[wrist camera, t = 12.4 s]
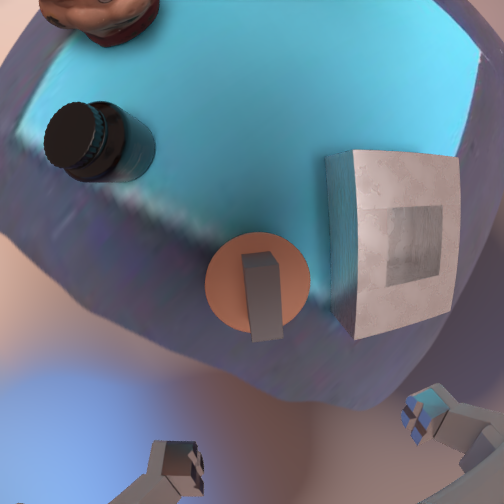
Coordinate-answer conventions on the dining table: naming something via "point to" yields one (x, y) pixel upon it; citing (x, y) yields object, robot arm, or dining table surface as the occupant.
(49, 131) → the supplement bottle
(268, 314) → the end cover
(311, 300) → the dining table surface
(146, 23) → the brown ceramic cup shape
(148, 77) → the dining table surface
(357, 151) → the housing
